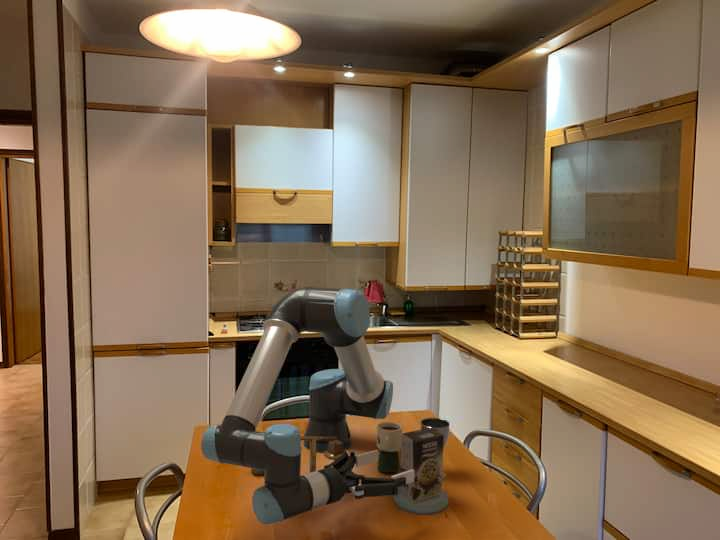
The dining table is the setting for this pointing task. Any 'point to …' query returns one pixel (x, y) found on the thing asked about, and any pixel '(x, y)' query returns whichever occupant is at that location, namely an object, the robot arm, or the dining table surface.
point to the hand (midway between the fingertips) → (394, 464)
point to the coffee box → (422, 464)
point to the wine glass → (437, 428)
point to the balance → (332, 453)
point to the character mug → (389, 446)
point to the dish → (422, 504)
